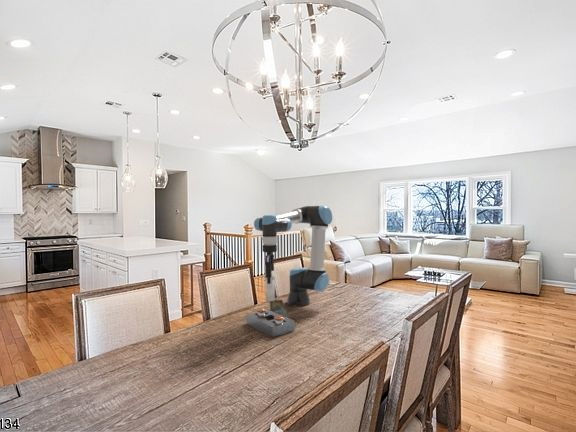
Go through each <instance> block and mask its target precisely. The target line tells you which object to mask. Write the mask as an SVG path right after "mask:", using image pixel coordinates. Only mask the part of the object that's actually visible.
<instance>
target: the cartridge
mask: <svg viewBox="0 0 576 432" xmlns="http://www.w3.org/2000/svg"><path fill="white" fill-rule="evenodd" d="M264 274H265V275H264V282H265V285H264V286H265V293H264V295H265V301H266V302H270V301H274V300H276V284H275V283H276V278H275V277H276V272H275V270H274V271H272V270H271V277H272V290H267V280H266V277H265V276H266V271H265V272H264Z"/></svg>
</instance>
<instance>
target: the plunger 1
mask: <svg viewBox="0 0 576 432" xmlns="http://www.w3.org/2000/svg"><path fill="white" fill-rule="evenodd" d="M266 310H267V308H265V307H257V308H256V312H258V316H261V315H265V311H266Z"/></svg>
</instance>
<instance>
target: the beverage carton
mask: <svg viewBox="0 0 576 432" xmlns="http://www.w3.org/2000/svg"><path fill="white" fill-rule="evenodd" d="M269 310H270V311H272V312H275V313H277V314H280V315H282V316H284V317H287V318H288V309H287V308H286V305H285V303H284V301H283V300H282V299H279V300H277V299H275V300H274V301H269Z"/></svg>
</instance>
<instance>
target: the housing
mask: <svg viewBox="0 0 576 432" xmlns="http://www.w3.org/2000/svg"><path fill="white" fill-rule="evenodd" d="M276 315H280V314H277V313H275V312H272V311H271V310H270V309H266V311H265V315H261V316H258V312H257V311H255V312H252V313H248V314H246V324H247V325H248V326H250V327H252V328H254V329H256V330H258V331H260V332H262V333H264V334H266V335H267V336H269V337H271V338H276V337H278V336H282V335H285V334H289V333H290V332H294V331H295V329H296V328H295V327H296V326H295V325H296V323H295V322H296V321H295V320H294V319H292V318H290V317H288V316H287V317H284V319H283V323H280V324H275V319H274V316H276Z"/></svg>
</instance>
